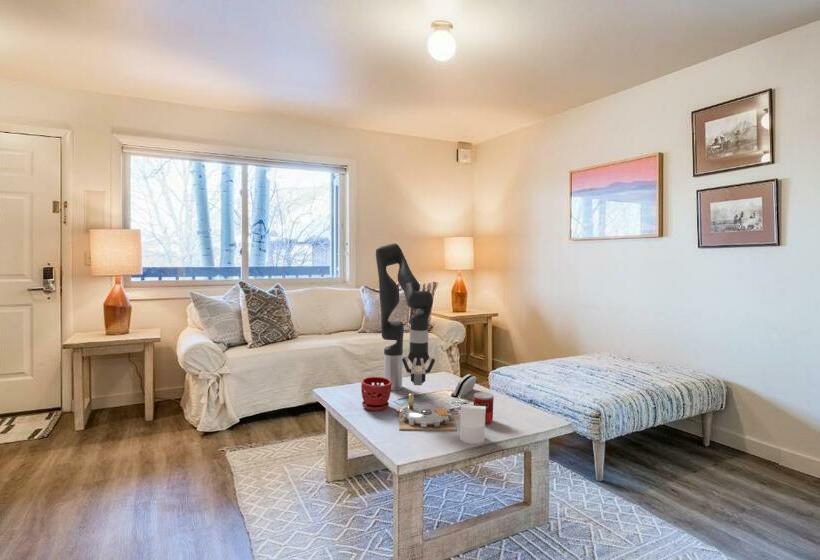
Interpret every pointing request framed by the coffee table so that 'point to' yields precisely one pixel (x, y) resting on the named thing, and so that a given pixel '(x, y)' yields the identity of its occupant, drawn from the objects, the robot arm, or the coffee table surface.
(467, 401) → the coffee table surface
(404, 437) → the coffee table surface
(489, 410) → the canned food
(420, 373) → the grey rectangular block
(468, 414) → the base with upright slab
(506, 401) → the coffee table surface
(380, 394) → the plant pot
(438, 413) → the sprocket
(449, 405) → the coffee table surface
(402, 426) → the board
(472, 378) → the grey curved shell
